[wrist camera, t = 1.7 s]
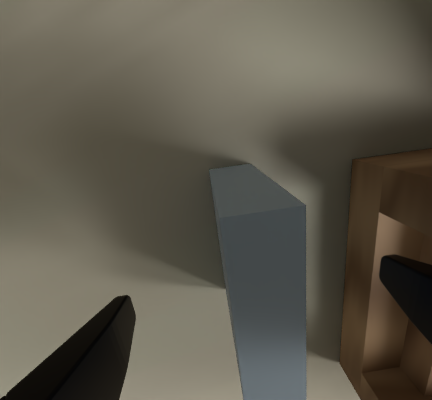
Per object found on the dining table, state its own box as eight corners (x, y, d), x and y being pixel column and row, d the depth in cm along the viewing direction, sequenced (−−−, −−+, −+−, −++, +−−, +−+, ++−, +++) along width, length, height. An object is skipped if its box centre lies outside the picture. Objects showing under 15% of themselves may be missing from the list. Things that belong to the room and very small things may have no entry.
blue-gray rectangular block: (259, 283, 13) (306, 405, 7) (225, 288, 13) (245, 414, 7) (250, 163, 11) (305, 205, 5) (208, 169, 11) (219, 218, 5)
